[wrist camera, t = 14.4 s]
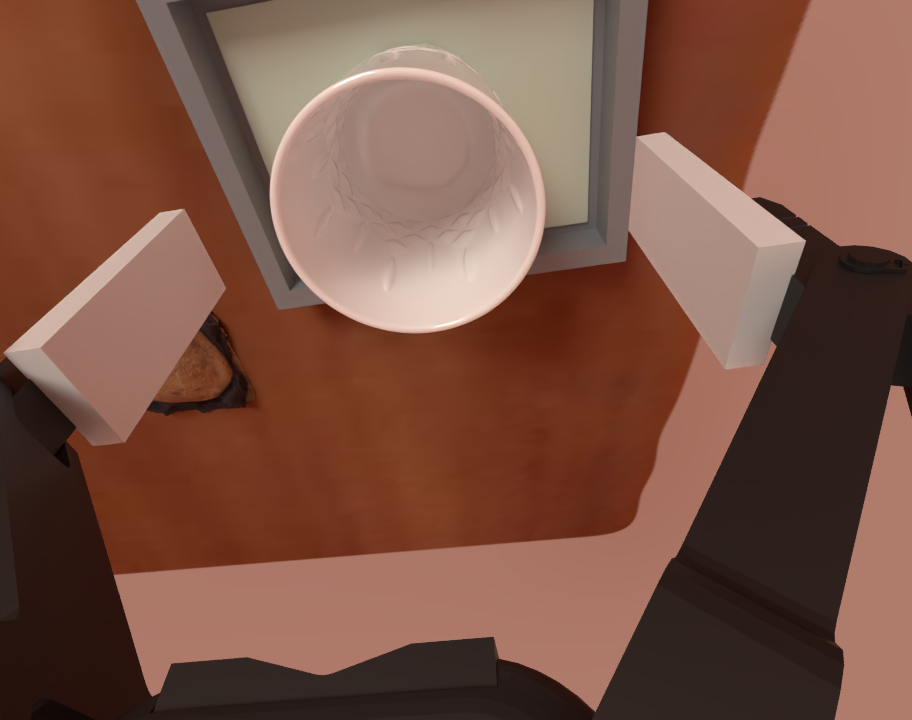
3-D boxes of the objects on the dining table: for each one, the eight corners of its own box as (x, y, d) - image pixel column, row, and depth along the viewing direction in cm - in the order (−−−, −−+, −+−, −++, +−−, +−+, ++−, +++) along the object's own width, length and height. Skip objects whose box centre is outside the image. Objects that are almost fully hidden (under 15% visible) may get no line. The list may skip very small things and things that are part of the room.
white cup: (319, 186, 23) (258, 299, 15) (350, -9, 18) (285, 13, 11) (473, 234, 25) (487, 357, 17) (537, 67, 20) (597, 133, 12)
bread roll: (62, 284, 28) (18, 320, 25) (197, 264, 28) (168, 299, 25) (158, 411, 35) (132, 450, 32) (269, 397, 34) (253, 436, 31)
